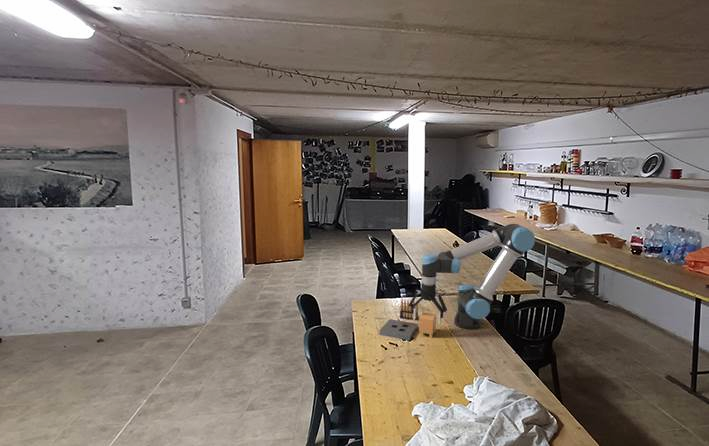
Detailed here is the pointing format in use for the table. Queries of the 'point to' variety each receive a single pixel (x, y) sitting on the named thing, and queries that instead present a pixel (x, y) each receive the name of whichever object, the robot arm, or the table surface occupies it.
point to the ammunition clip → (407, 310)
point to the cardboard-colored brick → (427, 324)
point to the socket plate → (399, 329)
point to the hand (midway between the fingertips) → (426, 321)
